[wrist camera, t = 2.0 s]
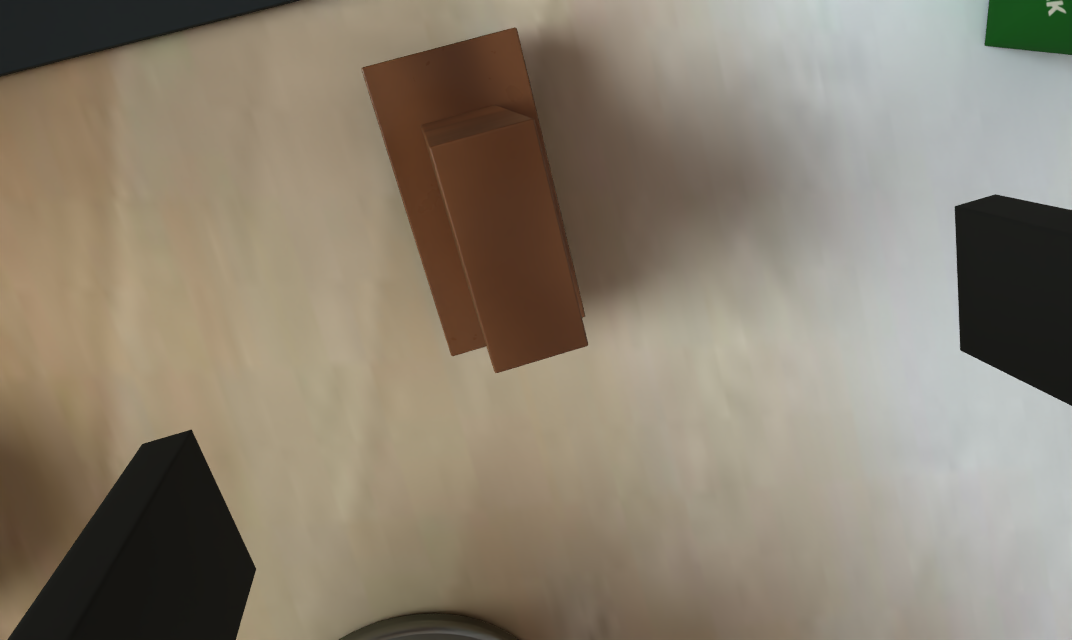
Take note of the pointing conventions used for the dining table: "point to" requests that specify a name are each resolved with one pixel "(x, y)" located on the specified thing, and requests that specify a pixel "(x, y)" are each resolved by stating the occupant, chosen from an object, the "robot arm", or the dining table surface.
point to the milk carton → (1030, 25)
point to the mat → (100, 25)
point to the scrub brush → (481, 197)
